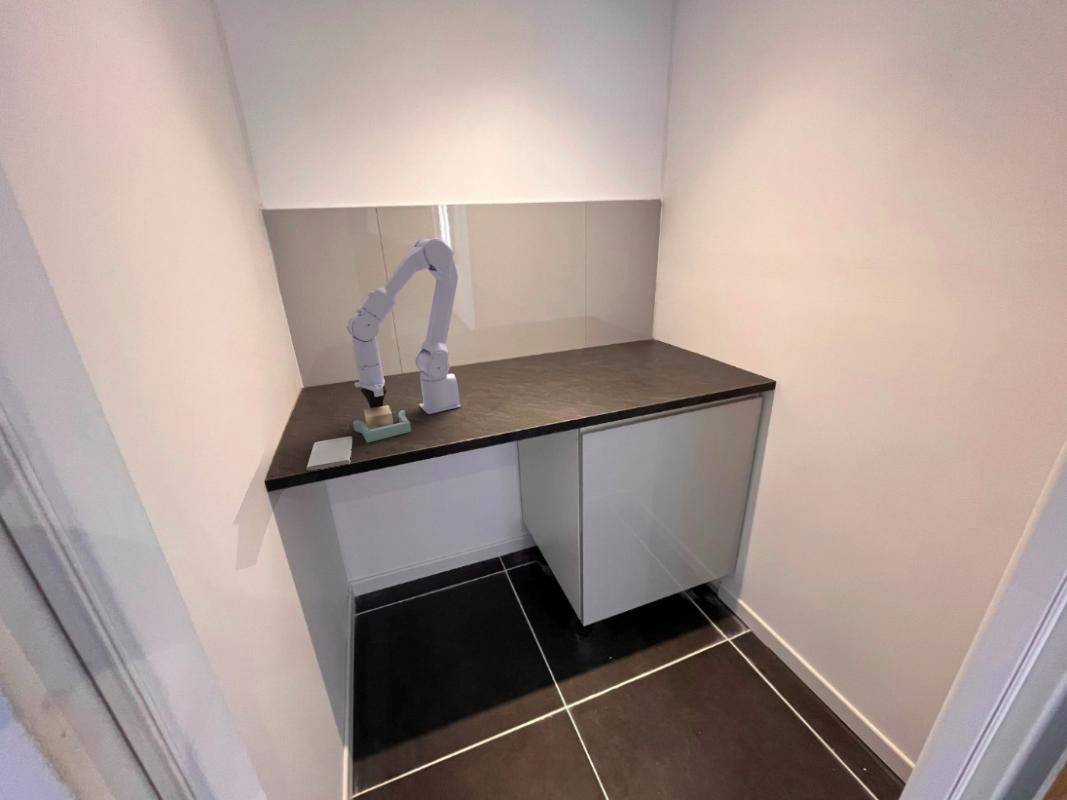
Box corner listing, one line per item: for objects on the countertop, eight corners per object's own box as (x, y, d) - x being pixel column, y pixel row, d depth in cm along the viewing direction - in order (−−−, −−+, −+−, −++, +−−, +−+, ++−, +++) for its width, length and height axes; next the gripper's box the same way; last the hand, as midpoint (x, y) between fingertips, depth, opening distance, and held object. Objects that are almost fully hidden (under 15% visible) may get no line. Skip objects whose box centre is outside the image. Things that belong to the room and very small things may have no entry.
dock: (405, 418, 110) (404, 409, 109) (416, 430, 103) (414, 421, 102) (354, 430, 104) (352, 420, 103) (361, 444, 96) (359, 434, 96)
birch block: (391, 421, 108) (388, 405, 107) (394, 429, 103) (391, 413, 102) (366, 425, 106) (363, 409, 104) (368, 434, 101) (365, 417, 99)
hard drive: (349, 459, 88) (351, 435, 98) (305, 467, 85) (313, 441, 96) (350, 466, 88) (353, 441, 99) (307, 474, 86) (315, 448, 97)
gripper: (346, 360, 107) (356, 409, 112) (357, 374, 95) (367, 428, 100) (375, 355, 110) (383, 403, 115) (388, 368, 99) (396, 421, 103)
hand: (377, 414), depth 108 cm, fingers closed
